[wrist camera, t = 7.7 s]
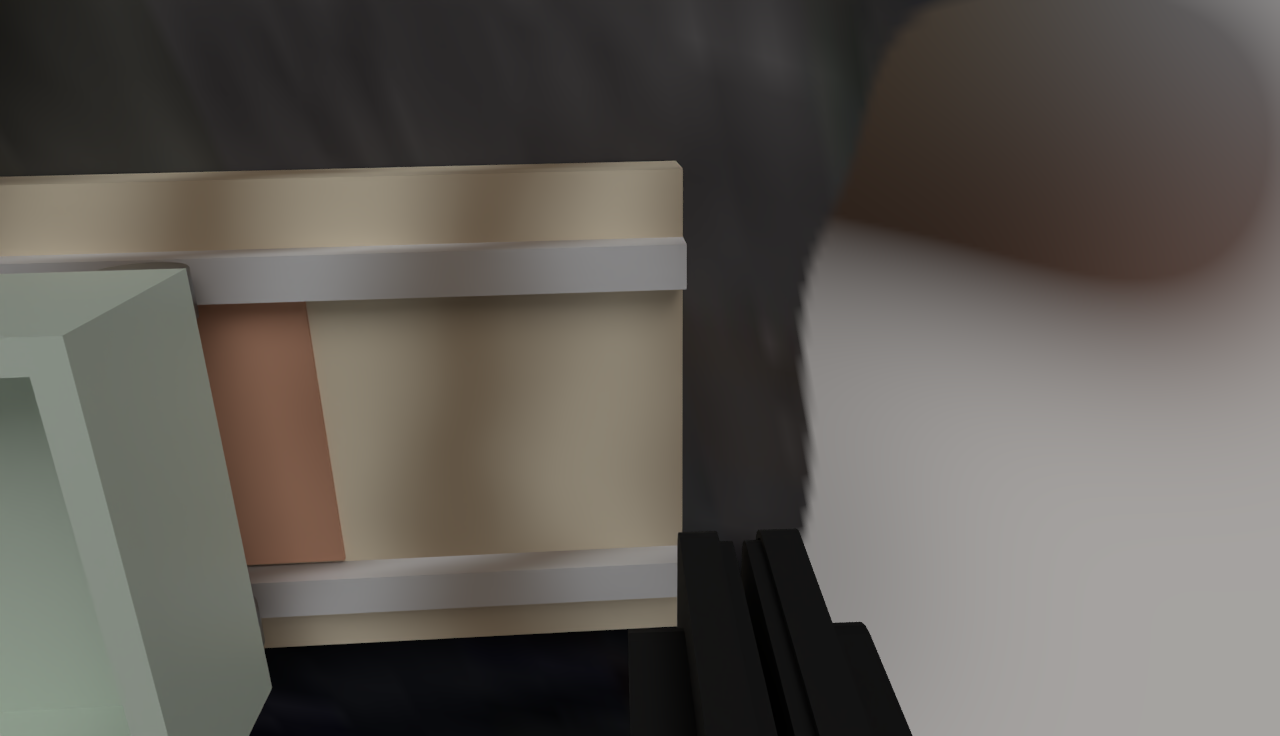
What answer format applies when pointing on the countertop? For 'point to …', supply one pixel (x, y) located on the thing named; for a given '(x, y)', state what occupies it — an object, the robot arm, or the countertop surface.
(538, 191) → the track
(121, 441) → the sage green storage bin
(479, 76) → the countertop surface
